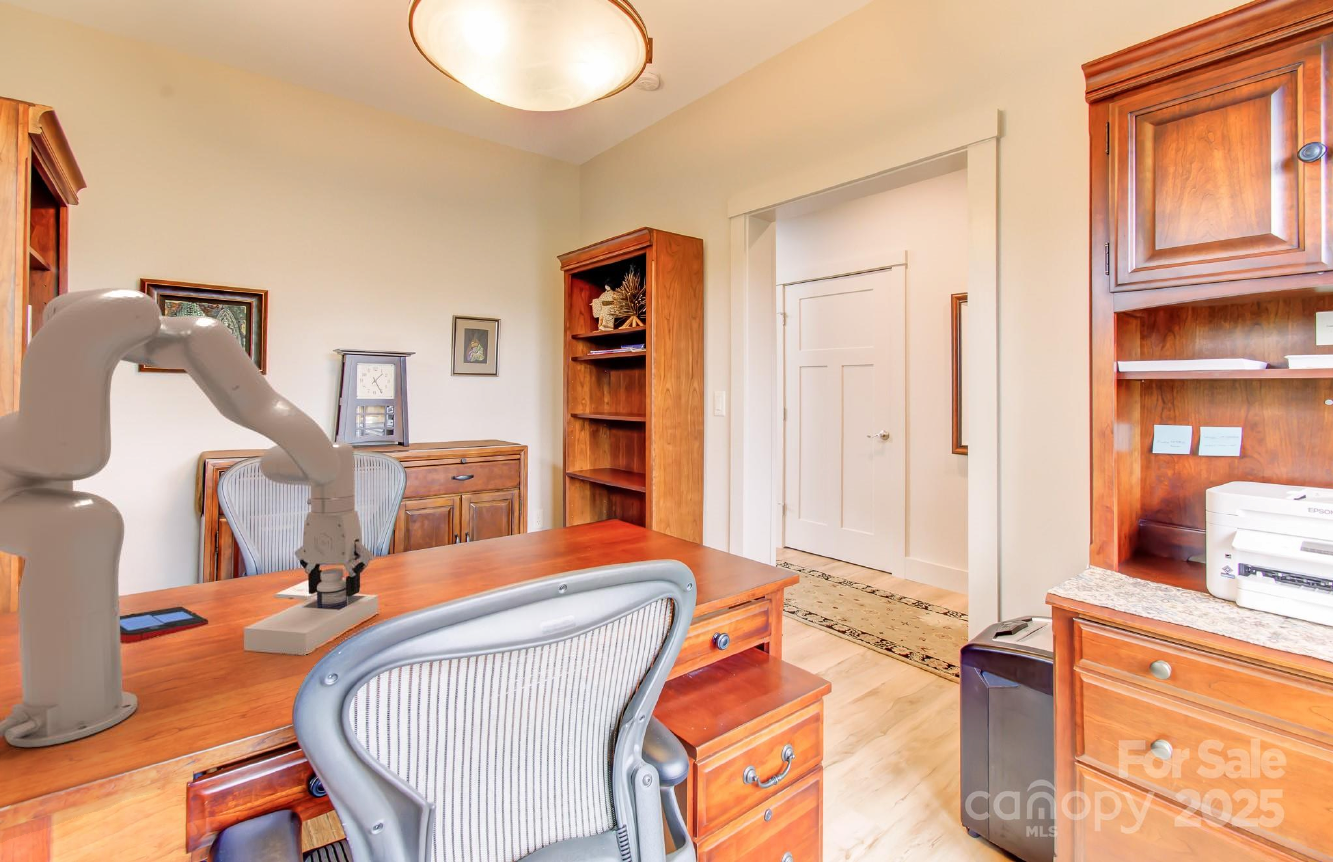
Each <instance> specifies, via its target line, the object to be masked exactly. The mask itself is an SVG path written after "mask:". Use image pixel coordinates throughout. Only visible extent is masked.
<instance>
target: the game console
mask: <svg viewBox="0 0 1333 862" xmlns="http://www.w3.org/2000/svg"><path fill="white" fill-rule="evenodd" d="M205 625H209V620H208V619H207V618H205V617H202V616H201V615H199V614H197V613H195V612H192V611H191V610H189V609H186V608H185V607H183V606H174V607H167V608H162V609H154V610H151V611H150V610H149V611H144V612H138V613H131V614H125V615H120V639H121V643H123V642H126V643H125V644H130V642H133V643H138V641H139V642H141V640H143V641H146V639H147V640H149V638H151V639H154V637H155V638H158V637H157V636H159V637H163V636H166V635H165V634H167V635H170V633H171V634H175V633H178V631H179V632H182V631H187V630H190V629H194V628H198V627H202V626H205ZM186 629H187V630H186ZM162 635H163V636H162Z"/></svg>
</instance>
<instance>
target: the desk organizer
mask: <svg viewBox="0 0 1333 862" xmlns="http://www.w3.org/2000/svg"><path fill="white" fill-rule="evenodd" d="M376 612H378V613H379V595H377V594H366V593H365V594H364V593H357V594H354V595H352V596H350V597H348V606H346V607H344V608H342V609H340V610H333V609H319V608H317V596H315V597H312V598H310V599H308V600H304V601H302V602H298V603H297V604H295V605H292V606H291V607H287V608H286V609H283V610H282V611H279V612H277V613H275V614H272V615H270V616H268V617H266V618H264V619H261V620H259V621H257V622H254V623H253V624H252V623H251V625H248V626H245V627H244V628H243V636H244V637H243V639H244V640H243V644H244V647H243V648H244V649H243V650H244V651H247V652H249V651H250V652H260V653H270V654H282V653H283V655H295V654H296V656H307V655H306V654H307V653H309V652H310V651H312V650H313V649H316V648H317V647H318V646H320V645H321V644H323V643H325V642H327V641H328V640H330V639H331V638H332V637H334V636H337V635H339V634H340V633H341V632H344V631H345V630H346V629H348V628H349V627H352V626H353V625H354V624H357V623H358V622H359V621H361V620H362V619H365V618H367V617H369V616H371V615H372V614H375V613H376ZM284 653H285V654H284ZM297 654H298V655H297ZM303 654H304V655H303Z"/></svg>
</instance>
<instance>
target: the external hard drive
mask: <svg viewBox="0 0 1333 862" xmlns="http://www.w3.org/2000/svg"><path fill="white" fill-rule="evenodd" d="M342 579H344V577H343V578H342ZM316 595H317V592H316V593H314V594H309V587H308V579H307V580H305V581H302V582H299V583H298V584H296V585H295V584H294V585H293V586H290V587H289V588H287V589H283V590H281V591H279V592H277V593H275V594H273V597H278V598H277V599H286V598H288V599H292V598H296V599H295V600H302V599H309V598H311V597H314V596H316Z"/></svg>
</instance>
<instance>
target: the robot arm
mask: <svg viewBox="0 0 1333 862" xmlns="http://www.w3.org/2000/svg"><path fill="white" fill-rule="evenodd" d="M42 323H43V325H42V326H41V327H40V328H39V330H38V331H37V332H36V333H35V334H34V336H33V337H32V338H31V339H30V341H29V343H28V345H27V347H26V349H25V351H24V355H23V358H22V361H21V362H22V363H21V366H20V367H21V368H20V377H19V378H20V379H19V380H20V381H19V382H20V384H19V394H18V396H19V399H18V410H16V411H13V412H9V413H7V414H5V415H2V416H0V551H1V552H3V553H6V554H9V555H12V556H16V557H22V558H24V567H23V571H22V575H21V579H20V584H19V589H18V599H17V601H18V602H17V604H18V605H17V606H18V609H17V610H18V621H19V637H20V639H19V641H20V661H21V662H20V665H21V684H22V685H21V688H22V689H21V690H22V701H21V702H18V703H16V704H13V705H12V706H11V708H12V713H11V714H9V715H7V716H6V717H5V719H4V720H1V721H0V739H1V738H3V737H5V739H6V742H7V743H9V745H12V746H15V747H21V748H22V747H23V748H34V747H35V748H37V747H38V748H39V747H47V746H52V745H58V744H62V743H67V742H72V741H74V740H79V739H82V738H85V737H88V736H91V735H93V734H96V733H99V732H101V731H103V730H106V729H109V728H111V727H113V726H115V725H117V724H119V723H121V722H122V721H124V720H125V719H127V718H128V717H129V716H130V715H132V714H134V712H135V710H137V707H138V697H137V695H136V694H134V693H131V692H130V691H123V673H122V668H123V667H122V645H121V644H122V641H121V639H120V616H121V613H120V611H121V610H120V599H119V573H120V571H119V569H120V561H121V554H122V548H123V544H124V539H125V522H124V518H123V515H122V514H121V512H120V510H119V509H118V508H117V507H116V506H115V505H114V504H113V503H112V502H111V501H109V500H108V499H106V498H105V497H102V496H100V495H97V494H94V493H90V492H87V491H80V490H74V481H75V482H76V481H81V480H85V479H88V478H91V477H93V476H96V475H97V474H98V473H100V472H101V471H102V470H103V469H104V468H105V467H106V466H107V464H108V463H109V460H110V457H111V453H112V451H111V450H112V436H111V435H112V433H111V431H112V429H111V389H112V387H111V386H112V378H113V375H114V372H115V370H116V368H117V366H118V364H119V363H120V361H123V362H128V363H133V364H137V365H141V366H147V367H153V368H159V369H160V368H161V369H167V370H184V371H185V372H186V373H187V374H188V376H189V377H190V378H191V379H192V380H193V381H194V382H195V384H196V385H197V386H198V387H199V388H200V390H201V391H202V392H203V393H204V394H205V396H206V397H207V398H208V399H209V401H210V403H211V404H212V405H213V406H214V407H215V409H216V410H217V411H218V412H219V413H220V415H221V416H223V417H224V418H225V419H227V420H229V421H231V422H233V423H234V424H236V425H238V426H241V427H243V428H246V429H248V430H250V431H253V432H255V433H258V434H260V435H262V436H264V437H265V438H267V439H269V440H270V441H271V442H273V443H274V444H275V445H273V446H272V447H270V448H268V449H267V450H265V452H263V454H262V456H261V458H260V461H259V468H260V471H261V473H262V475H263V476H264V477H265V478H266V479H268V480H269V481H271V482H274V483H275V484H276V483H277V484H283V485H292V486H306V487H310V497H309V498H308V499H307V500H306V504H307V506H310V511H309V512H307V514H306V516H305V520H304V527H303V532H302V533H303V535H302V545H301V546H300V547H299V548H298V549H296V550H295V551H294V555H295V557H296V558H297V560H298V561H299V564H300V566H301V567H303V569H304V574H306V575H308V576H307V577H308V578H307V580H308V587H309V594H314V593H316V592H317V585H318V584H319V583H320V582H322V580H321V572H322V571H323V569H321V567H322V566H323V565H329V566H330V565H331V566H343V567H344V569H345V571H346V572H347V574H348V575H347V576H346V577H345V580H346V596H348V597H350V596H352V595H354V594H360V589H361V574H362V573H363V572H364V570H365V569H366V568H367V567H368V566H369V564H370V563H371V561H372V560H373V558H374V554H373V553H372V551H370V550H369V549H368V548H366V546H364V545H363V539H362V537H363V536H362V530H361V529H362V528H361V522H360V517H359V514H358V511H357V510H355V508H356V507H355V502H356V501H355V452H354V450H355V449H354V447H353V445H352V444H350V443H348V442H341V441H340V442H339V441H337V442H336V441H335V442H334V441H333V442H332V441H331V439H330V438H329V437H328V436H327V434H326V433H325V432H324V430H323V429H322V428H321V426H320V425H319V424H318V423H317V422H316V421H315V420H314V419H313V418H312V417H310V416H309V415H308V414H307V413H305V411H303V410H301V409H300V408H299V407H298V406H296V405H295V404H294V403H293V402H291V401H290V400H288V399H287V398H286V397H284V396H283V395H281V394H279V393H278V392H277V391H276V390H275V389H274V388H273V387H272V386H271V385H270V383H269V382H268V381H267V379H266V378H265V376H264V375H263V374H262V372H261V371H260V369H259V368H258V367H257V365H256V364H255V362H254V361H253V360H252V359H251V357H250V356H249V355H248V353H247V351H246V350H245V349H244V348H243V346H242V345H241V343H240V342H239V341H238V339H237V338H236V336H235V335H234V333H232V331H231V330H230V329H229V328H228V327H227V325H225V324H224V323H223V322H222V321H220V320H219V319H216V318H214V317H210V316H206V315H184V316H182V315H181V316H180V315H179V316H167V315H162V311H161V308H160V306H159V304H158V303H157V302H156V301H155V299H154V298H153V297H151V296H150V295H148V294H146V293H144V292H142V291H139V290H137V289H132V288H128V287H127V288H124V287H107V288H96V289H91V290H80V291H79V290H78V291H72V292H67V293H63V294H60V295H58V296H56V297H54V298H53V299H52V300H50V301H49V302H48V303H47V304H46V305H45V307H44V309H43V312H42ZM360 559H361V560H360ZM359 560H360V561H359Z"/></svg>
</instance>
